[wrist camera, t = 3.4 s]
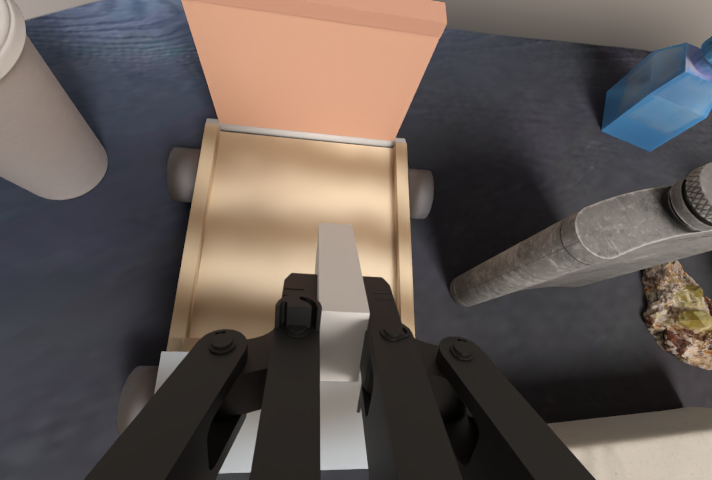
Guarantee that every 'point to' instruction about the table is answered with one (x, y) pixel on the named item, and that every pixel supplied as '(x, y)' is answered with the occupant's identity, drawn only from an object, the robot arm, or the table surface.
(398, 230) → the truck bed
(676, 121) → the perfume bottle
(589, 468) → the box
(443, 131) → the table surface
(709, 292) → the table surface
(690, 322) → the mineral rock
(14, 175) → the coffee cup
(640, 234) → the flask
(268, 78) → the tailgate
